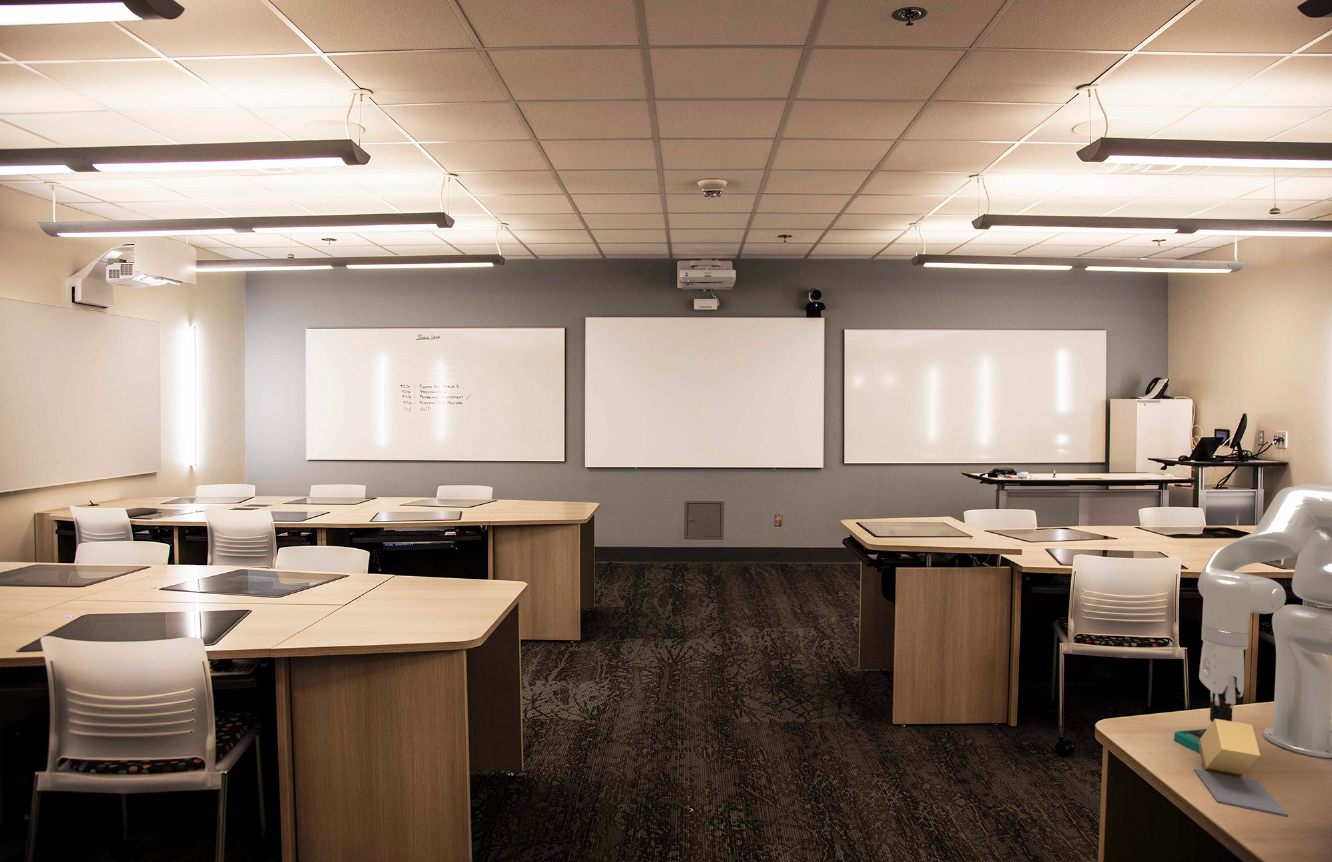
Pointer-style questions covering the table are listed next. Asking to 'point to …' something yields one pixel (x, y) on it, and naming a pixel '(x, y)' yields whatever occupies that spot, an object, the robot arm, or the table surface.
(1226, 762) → the ochre block
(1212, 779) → the mat
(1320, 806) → the table surface
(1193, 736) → the digital multimeter
